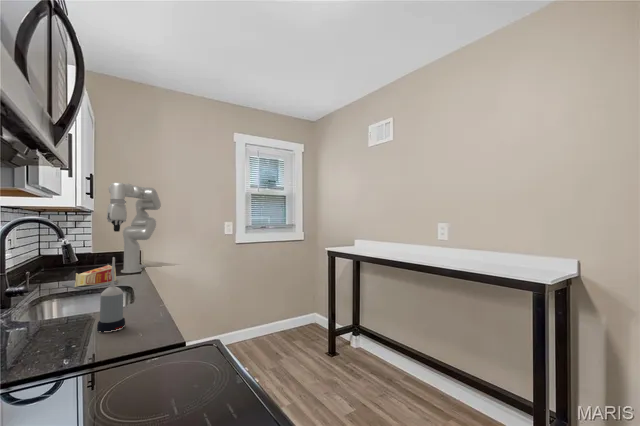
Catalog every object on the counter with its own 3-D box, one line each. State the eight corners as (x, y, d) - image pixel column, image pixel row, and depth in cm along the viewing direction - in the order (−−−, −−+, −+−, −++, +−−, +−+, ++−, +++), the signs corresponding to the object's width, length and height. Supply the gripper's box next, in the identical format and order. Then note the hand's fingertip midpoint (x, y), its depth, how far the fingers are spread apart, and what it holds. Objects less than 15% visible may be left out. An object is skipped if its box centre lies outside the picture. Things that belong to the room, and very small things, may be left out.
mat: (97, 280, 189) (97, 279, 189) (117, 283, 180) (117, 282, 180) (62, 285, 173) (62, 284, 173) (82, 289, 164) (82, 288, 164)
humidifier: (119, 332, 106) (121, 258, 107) (92, 333, 105) (94, 259, 105) (128, 324, 114) (130, 255, 115) (103, 325, 113) (105, 256, 113)
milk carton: (116, 280, 184) (81, 291, 165) (104, 279, 186) (68, 289, 167) (115, 265, 183) (80, 274, 164) (103, 264, 186) (67, 273, 167)
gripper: (125, 202, 206) (124, 230, 205) (101, 201, 192) (100, 231, 192) (132, 202, 202) (132, 231, 202) (108, 201, 189) (107, 232, 189)
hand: (116, 231), depth 197 cm, fingers closed
